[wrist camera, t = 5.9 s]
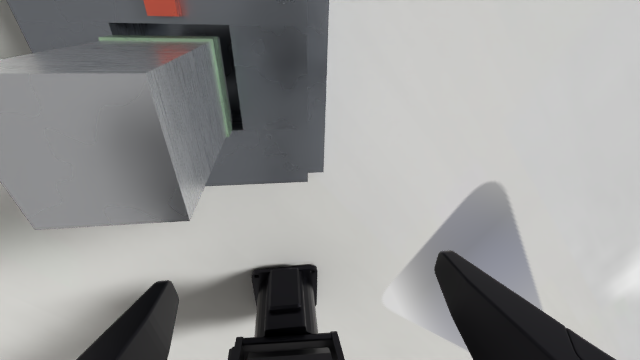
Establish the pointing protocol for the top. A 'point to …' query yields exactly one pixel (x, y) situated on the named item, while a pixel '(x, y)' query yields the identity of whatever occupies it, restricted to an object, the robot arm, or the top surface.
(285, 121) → the housing
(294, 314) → the robot arm
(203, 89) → the column
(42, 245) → the top surface
